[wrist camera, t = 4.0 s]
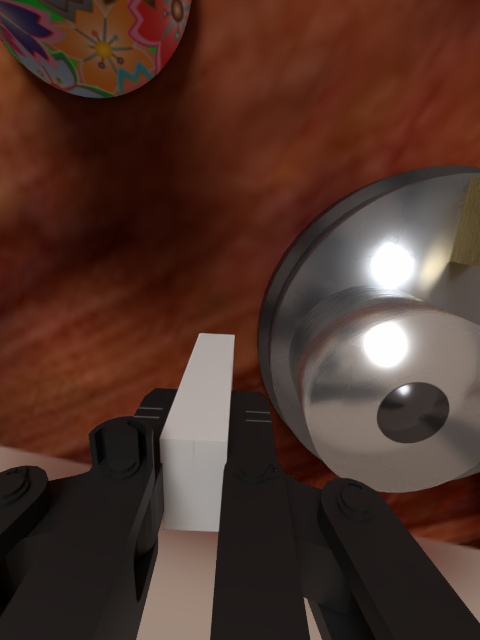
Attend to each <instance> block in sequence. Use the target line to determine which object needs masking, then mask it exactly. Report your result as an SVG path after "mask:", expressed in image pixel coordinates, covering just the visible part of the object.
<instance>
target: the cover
mask: <svg viewBox="0 0 480 640" xmlns="http://www.w3.org/2000/svg"><path fill="white" fill-rule="evenodd" d="M289 369H290V374H291V378H292V381H293V384H294V387H295V390H296V393H297V396H298V399H299V402H300V405H301V408H302V411H303V414H304V417H305V420H306V423H307V426H308V429H309V432H310V435H311V438H312V441H313V444H314V446H315V448H316V451H317V453H318V454H319V456H320V457H321V459H322V460H323V462H324V463H325V464H326V465H327V466H328V467H329V468H330V469H331V470H332V471H333V472H334V473H336V474H337V475H338V476H340V477H341V478H350V479H353V480H356V481H360V482H362V483H364V484H366V485H367V486H369V487H371V488H372V489H374V490H375V491H379V492H391V493H395V492H411V491H418V490H422V489H427V488H431V487H434V486H437V485H440V484H443V483H445V482H447V481H450V480H452V479H454V478H456V477H458V476H460V475H462V474H463V473H465V472H467V471H468V470H470V469H471V468H473V467H474V466H475V465H477V464H478V463H479V462H480V325H478V324H475V323H473V322H471V321H468V320H466V319H464V318H462V317H459V316H457V315H455V314H453V313H450V312H448V311H446V310H444V309H441V308H439V307H437V306H435V305H432V304H430V303H428V302H425V301H423V300H421V299H419V298H416V297H414V296H412V295H410V294H407V293H405V292H403V291H400V290H398V289H395V288H392V287H388V286H382V285H361V286H354V287H351V288H347V289H344V290H341V291H339V292H337V293H334V294H332V295H331V296H329V297H327V298H325V299H324V300H322V301H321V302H320V303H318V304H317V305H316V306H315V307H314V308H313V309H312V310H310V311H309V313H308V314H307V315H306V316H305V317H304V318H303V320H302V321H301V323H300V324H299V326H298V327H297V330H296V332H295V334H294V336H293V339H292V342H291V345H290V351H289Z"/></svg>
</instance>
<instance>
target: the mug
mask: <svg viewBox="0 0 480 640" xmlns="http://www.w3.org/2000/svg"><path fill="white" fill-rule="evenodd" d="M191 1H192V0H0V39H1V41H2V42H3V43H4V45H5V46H6V47H7V48H8V50H9V51H10V52H11V53H12V54H13V55H14V56H15V58H16V59H17V60H18V61H19V62H20V63H21V64H22V65H24V66H25V67H26V68H27V69H28V70H29V71H31V72H32V73H33V74H34V75H36V76H37V77H38V78H40V79H41V80H43V81H44V82H46V83H48V84H50V85H51V86H53V87H55V88H58V89H60V90H62V91H65V92H68V93H71V94H74V95H78V96H83V97H89V98H109V97H116V96H120V95H124V94H126V93H129V92H131V91H134V90H136V89H138V88H139V87H141V86H143V85H144V84H146V83H147V82H149V81H150V80H151V79H152V78H153V77H154V76H156V75H157V74H158V73H159V72H160V71H161V69H162V68H163V67H164V66H165V65H166V63H167V62H168V61H169V59H170V58H171V57H172V55H173V53H174V51H175V50H176V48H177V46H178V44H179V42H180V40H181V38H182V35H183V32H184V30H185V27H186V23H187V20H188V16H189V12H190V6H191Z"/></svg>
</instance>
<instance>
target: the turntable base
mask: <svg viewBox="0 0 480 640" xmlns="http://www.w3.org/2000/svg"><path fill="white" fill-rule="evenodd" d="M461 173H480V168H478V167H470V166H436V167H430V168H424V169H418V170H412V171H408V172H405V173H401V174H398V175H394V176H391V177H388V178H384V179H381V180H378V181H375V182H373V183H371V184H368V185H366V186H364V187H362V188H359V189H357V190H355V191H353V192H351V193H350V194H348V195H346V196H345V197H343V198H342V199H340V200H338V201H337V202H335V203H333V204H332V205H331V206H330V207H328V208H327V209H326V210H324V211H323V212H322V213H321V214H319V215H318V216H317V217H316V218H314V219H313V220H312V221H311V222H310V223H309V225H308V226H307V227H306V228H305V229H304V230H303V231H302V232H301V233H300V234H299V235H298V236H297V237H296V238H295V240H294V241H293V242H292V244H291V245H290V246H289V248H288V249H287V250H286V252H285V253H284V254H283V256H282V258H281V260H280V261H279V263H278V265H277V266H276V268H275V270H274V272H273V274H272V276H271V279H270V281H269V283H268V286H267V288H266V290H265V294H264V297H263V301H262V304H261V308H260V313H259V320H258V328H257V348H258V355H259V362H260V369H261V375H262V378H263V382H264V385H265V388H266V391H267V394H268V396H269V398H270V400H271V402H272V404H273V406H274V408H275V410H276V411H277V413H278V414H279V416H280V417H281V419H282V420H283V421H284V423H285V424H286V425H287V426H288V427H289V425H288V424H287V422H286V420H285V418H284V416H283V414H282V412H281V410H280V408H279V405H278V402H277V399H276V395H275V392H274V388H273V383H272V379H271V374H270V366H269V359H268V337H269V330H270V323H271V318H272V314H273V311H274V307H275V304H276V301H277V298H278V296H279V294H280V291H281V289H282V287H283V284H284V282H285V280H286V278H287V277H288V275H289V273H290V272H291V270H292V268H293V267H294V265H295V263H296V262H297V261H298V259H299V258H300V257H301V255H302V254H303V253H304V252H305V250H306V249H307V248H308V246H309V245H310V244H311V243H312V242H313V241H314V240H315V239H316V238H317V237H318V236H319V235H320V234H321V233H322V232H323V231H324V230H325V229H326V228H327V227H328V226H329V225H331V224H332V223H333V222H334V221H336V220H337V219H338V218H340V217H341V216H342V215H343V214H345V213H346V212H347V211H349V210H351V209H352V208H354V207H356V206H357V205H359V204H361V203H362V202H364V201H366V200H367V199H370V198H372V197H374V196H376V195H378V194H381V193H383V192H385V191H387V190H390V189H393V188H396V187H399V186H403V185H406V184H409V183H413V182H417V181H422V180H426V179H431V178H436V177H442V176H448V175H455V174H461ZM289 428H290V427H289ZM290 429H291V428H290Z"/></svg>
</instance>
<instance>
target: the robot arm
mask: <svg viewBox="0 0 480 640" xmlns="http://www.w3.org/2000/svg"><path fill="white" fill-rule="evenodd" d="M234 338H235V335H225V334H204V333H199V336H198V339H197V341H196V344H195V346H194V349H193V352H192V354H191V357H190V360H189V362H188V365H187V368H186V370H185V373H184V375H183V378H182V381H181V383H180V386H179V389H162V388H155V389H154V390H153V391H151V392H150V393H149V394H147V395H146V396H145V397H144V399H143V400H142V402H141V404H140V406H139V409H137V411H136V413H135V415H134V417H133V416H127V417H118V418H114V419H111V420H107V421H105V422H104V423H102V424H100V425H98V426H96V427H95V428H94V429H93V430H92V431H91V432H90V433H89V441H90V449H91V457H92V465H93V466H92V467H91V469H90V471H88V472H86V473H83V474H79V475H76V476H71V477H66V478H62V479H56V480H51V481H48V477H47V474H46V472H45V470H43V469H41V468H39V467H38V466H20V467H15V468H11V469H8V470H6V471H3V472H1V473H0V640H136V638H137V633H138V629H139V626H140V621H141V617H142V613H143V610H144V606H145V602H146V598H147V594H148V590H149V586H150V582H151V578H152V574H153V570H154V566H155V562H156V558H157V554H158V531H159V528H160V524H161V520H162V517H163V529H167V530H168V529H169V530H190V531H191V530H192V531H213V532H219V534H218V547H217V560H216V574H215V585H214V586H215V587H214V598H213V610H212V624H211V636H210V640H310V635H309V630H308V623H307V616H306V610H305V604H304V598H303V597H305V598H307V599H308V603H309V605H310V608H311V611H312V613H313V616H314V619H315V621H316V624H317V627H318V629H319V632H320V635H321V638H322V640H480V623H479V622H478V621H477V619H476V618H475V617H474V616H473V614H472V613H471V611H469V609H468V608H467V606H465V604H464V602H463V601H462V600H461V599H460V597H459V596H458V595H457V593H456V592H455V591H454V589H453V588H452V587H451V586H450V584H449V583H448V582H447V580H446V579H445V578H444V577H443V575H442V574H441V573H440V571H439V570H438V569H437V568H436V566H435V565H434V564H433V562H432V561H431V560H430V558H429V557H428V556H427V555H426V553H425V552H424V551H423V550H422V548H421V547H420V546H419V544H418V543H417V542H416V540H415V539H414V538H413V536H412V535H411V534H410V533H409V531H408V530H407V529H406V527H405V526H404V525H403V524H402V522H401V521H400V520H399V518H398V517H397V516H396V514H395V513H394V512H393V511H392V509H391V508H390V507H389V505H388V504H387V503H386V502H385V500H384V499H383V498H382V497H381V496H380V495H379V494H378V493H377V492H376V491H375V490H374V489H372V488H371V487H369V486H367V485H366V484H364V483H362V482H360V481H356V480H353V479H350V478H336V479H334V480H331V481H328V482H327V483H326V484H325V486H324V487H323V488H322V490H321V489H318V488H315V487H312V486H309V485H306V484H303V483H301V482H298V481H296V480H295V479H293V478H291V477H290V476H288V475H287V474H286V473H285V472H284V471H283V470H282V468H281V466H280V464H279V463H278V461H277V457H276V451H275V444H274V437H273V430H272V423H271V416H270V409H269V403H268V400H267V399H266V398H265V396H264V395H263V394H262V393H261V392H250V391H232V381H233V359H234Z"/></svg>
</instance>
